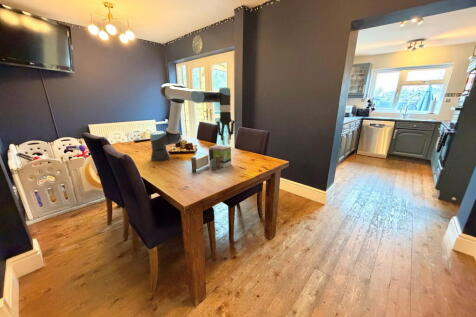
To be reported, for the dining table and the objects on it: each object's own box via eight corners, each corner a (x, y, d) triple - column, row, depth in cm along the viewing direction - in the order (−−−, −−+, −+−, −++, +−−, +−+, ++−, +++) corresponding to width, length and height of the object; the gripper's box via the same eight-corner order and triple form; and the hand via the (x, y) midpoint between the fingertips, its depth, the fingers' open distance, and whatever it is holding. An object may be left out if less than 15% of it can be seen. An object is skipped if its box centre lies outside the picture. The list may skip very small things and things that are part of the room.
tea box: (231, 164, 154) (231, 146, 149) (224, 168, 145) (223, 149, 141) (216, 161, 161) (216, 144, 157) (209, 164, 153) (208, 146, 149)
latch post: (215, 168, 145) (215, 155, 142) (219, 167, 146) (219, 155, 143) (217, 169, 142) (216, 156, 139) (220, 169, 143) (220, 156, 141)
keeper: (211, 170, 141) (210, 159, 139) (215, 169, 142) (215, 159, 140) (211, 170, 140) (211, 160, 138) (216, 170, 141) (215, 159, 139)
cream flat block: (197, 169, 139) (196, 159, 136) (195, 168, 139) (194, 159, 137) (208, 164, 150) (208, 154, 148) (206, 163, 151) (206, 154, 149)
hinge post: (191, 171, 138) (190, 157, 135) (196, 171, 140) (195, 156, 136) (192, 173, 135) (191, 158, 132) (197, 172, 136) (196, 158, 133)
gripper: (215, 112, 126) (216, 146, 133) (238, 111, 132) (238, 144, 139) (212, 111, 133) (213, 144, 139) (234, 110, 139) (234, 142, 146)
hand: (226, 144), depth 139 cm, fingers open, 3 cm apart
